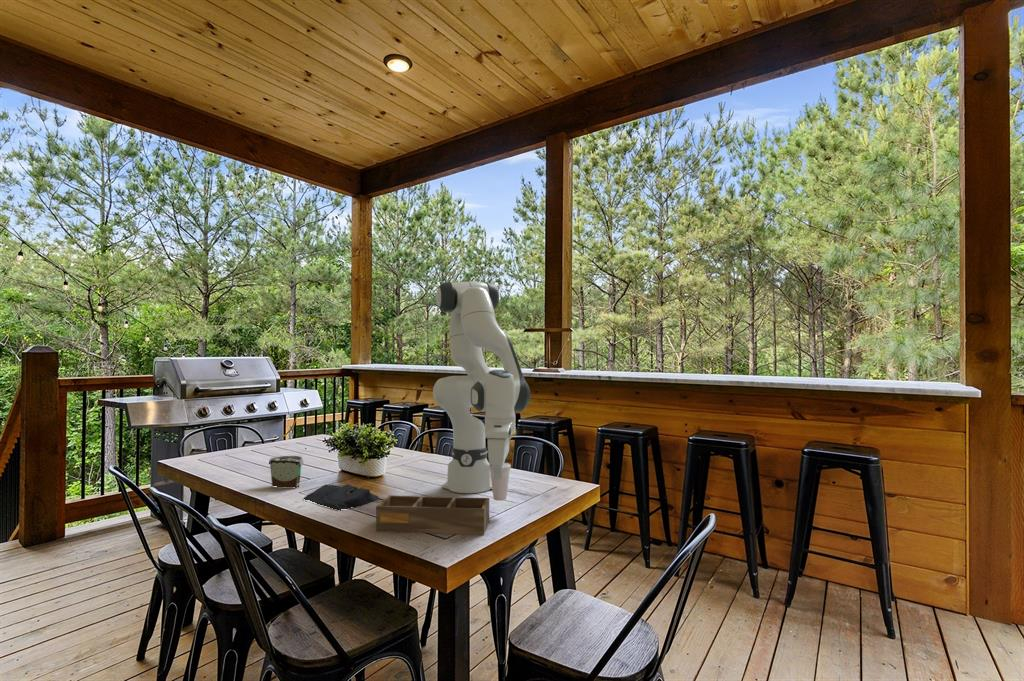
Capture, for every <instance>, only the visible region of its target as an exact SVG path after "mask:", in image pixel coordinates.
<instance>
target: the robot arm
mask: <svg viewBox="0 0 1024 681" xmlns="http://www.w3.org/2000/svg"><path fill="white" fill-rule="evenodd" d="M499 292H500V291H499V289H498V287H497V286H496V284H494V283H492V282H487V281H485V282H482V281H472V280H468V281H453V282H451V281H446V282H443V283H440V284H439V285H438V287H437V290H436V294H435V301H436V305H437V308H438V310H440V311H441V312H444V313H448V314H450V315H449V316H450V318H449V328H448V329H449V330H448V332H449V334H448V336H449V346H450V347H449V349H450V358H451V360H452V362H453V363H454V364H456V365H457V366H458V367H460V368H462V369H463V370H464V371H465V372H466V374H467V375H450V376H445V377H441V378H439V379H437V381H436V382H435V383H434V385H433V388H432V396H433V397H432V398H433V400H434V402H435V403H436V405H438V406H439V407H440V408H441V409H442V410H444V411H445V413H446V414H447V415H448V418H450V422H451V425H452V432H453V433H452V434H453V436H452V437H453V447H452V449H451V450H452V451H451V455H452V456H451V457H452V460H451V461H450V462H449V463H448V464H447V479H446V482H445V483H443V484H442V488H443V489H446V490H449V491H451V492H453V493H458V494H476V493H483V492H486V491H490V489H492V482H491V474H490V469H489V465H490V466H491V467H494V471H495V479H501V477H502V466H503V464H504V463H506V459H507V457H508V454H509V452H510V440H511V439H512V435H515V434H516V418H517V417H516V413H518V412H519V413H521V412H522V411H524V410H525V409H526V408H527V407H528V405H529V404H530V402H531V397H532V394H531V393H532V392H531V389H530V387H529V384H528V382H527V381H526V379H525V376H524V374H523V371H522V369H521V365H520V363H519V360H518V356H517V355H516V351H515V349H514V345H513V342H512V341H511V339H510V336H509V335H508V334H507V333H506V332H505V331H503V329H501V327H500V325H499V323H498V322H497V319H496V313H495V310H496V309H497V307H498V306H499V301H500V293H499ZM483 349H484V350H487V351H488V352H491V353H493V354H495V355H496V356H497V357H498V358H499V359H500V361H501V364H502V367H503V369H493V370H491V369H490V368H489V366H488V365H487V362H486V360H485V357H484V354H483ZM471 408H474V409H475V410H477V412H483V413H485V414H484V421H482V420H481V419H479V418H477V417H476V416H473V415H472V413H471ZM486 439H487V443H486ZM486 444H487V446H486ZM487 456H488V457H487ZM487 458H488V459H487Z"/></svg>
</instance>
